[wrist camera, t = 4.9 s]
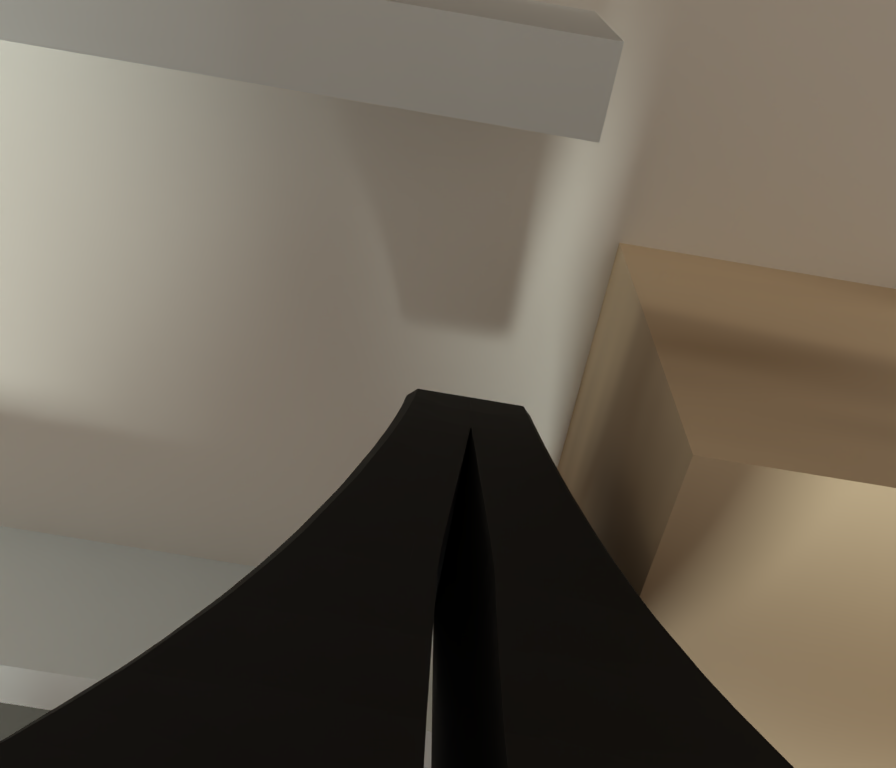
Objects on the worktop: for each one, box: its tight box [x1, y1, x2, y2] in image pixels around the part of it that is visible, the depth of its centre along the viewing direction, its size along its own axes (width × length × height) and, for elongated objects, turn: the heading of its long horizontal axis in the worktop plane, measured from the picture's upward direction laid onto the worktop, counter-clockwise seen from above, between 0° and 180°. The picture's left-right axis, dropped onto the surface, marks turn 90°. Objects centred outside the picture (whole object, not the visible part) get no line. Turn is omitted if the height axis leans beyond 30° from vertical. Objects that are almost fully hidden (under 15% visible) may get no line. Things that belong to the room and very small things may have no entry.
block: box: [557, 243, 896, 768], centre depth 9 cm, size 4×4×4 cm
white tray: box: [0, 0, 896, 768], centre depth 11 cm, size 11×22×5 cm, turn 81°
